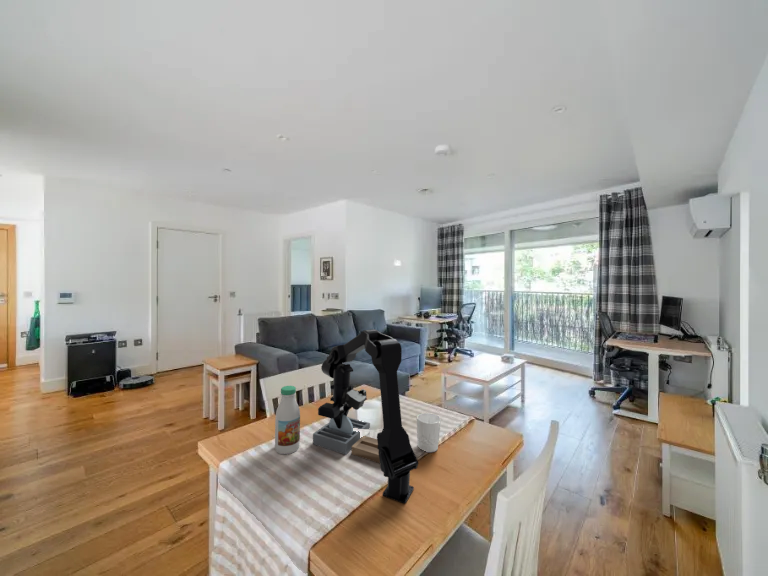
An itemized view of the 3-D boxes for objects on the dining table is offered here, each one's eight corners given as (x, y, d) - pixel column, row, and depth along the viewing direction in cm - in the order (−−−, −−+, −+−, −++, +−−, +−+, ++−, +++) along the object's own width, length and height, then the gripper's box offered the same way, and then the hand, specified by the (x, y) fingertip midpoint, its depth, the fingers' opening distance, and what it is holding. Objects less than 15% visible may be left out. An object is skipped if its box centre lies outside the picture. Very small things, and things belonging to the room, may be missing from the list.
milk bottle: (269, 452, 100) (270, 390, 99) (284, 440, 107) (285, 382, 106) (290, 457, 98) (291, 393, 97) (304, 444, 105) (305, 385, 104)
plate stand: (386, 465, 95) (386, 457, 95) (351, 454, 100) (351, 446, 100) (396, 452, 102) (396, 444, 102) (363, 442, 107) (363, 435, 107)
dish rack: (345, 454, 100) (346, 443, 100) (312, 443, 106) (312, 433, 105) (369, 432, 114) (370, 422, 114) (339, 424, 120) (339, 415, 120)
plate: (350, 444, 106) (351, 418, 106) (328, 437, 110) (329, 412, 110) (352, 442, 107) (353, 416, 107) (330, 435, 111) (331, 410, 111)
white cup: (438, 441, 109) (439, 413, 109) (440, 454, 102) (441, 424, 101) (415, 439, 110) (416, 411, 110) (415, 452, 102) (416, 422, 102)
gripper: (347, 396, 96) (345, 446, 97) (375, 378, 113) (374, 421, 113) (317, 389, 101) (316, 437, 101) (348, 373, 118) (347, 414, 118)
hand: (340, 427), depth 109 cm, fingers closed
